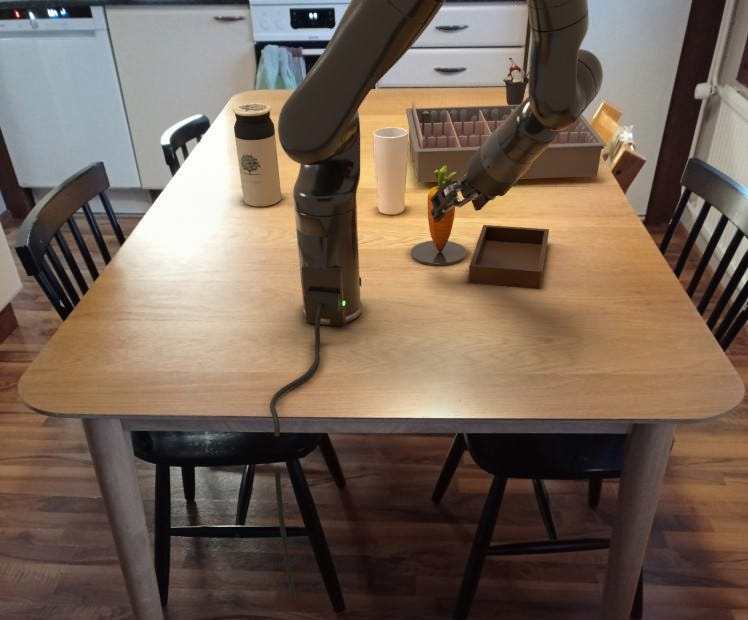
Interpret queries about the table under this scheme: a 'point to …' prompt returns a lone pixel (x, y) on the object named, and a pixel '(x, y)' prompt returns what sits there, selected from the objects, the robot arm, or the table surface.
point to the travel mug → (257, 154)
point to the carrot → (444, 226)
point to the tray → (509, 256)
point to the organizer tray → (472, 128)
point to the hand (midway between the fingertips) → (455, 211)
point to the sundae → (515, 85)
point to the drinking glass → (390, 168)
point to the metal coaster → (438, 254)
